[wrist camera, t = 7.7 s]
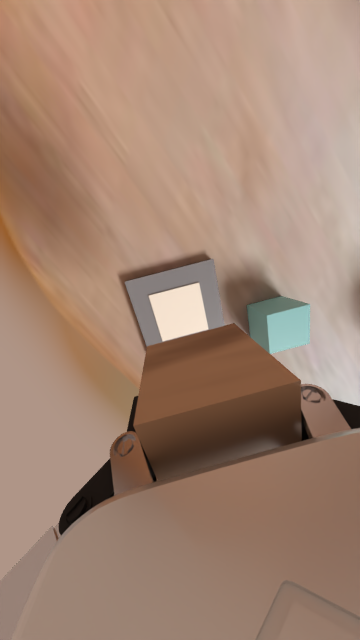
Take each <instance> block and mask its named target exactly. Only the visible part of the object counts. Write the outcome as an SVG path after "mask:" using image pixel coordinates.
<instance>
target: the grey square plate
mask: <svg viewBox="0 0 360 640" xmlns="http://www.w3.org/2000/svg"><path fill="white" fill-rule="evenodd" d="M125 285H126V288H127V291H128V294H129V297H130V299H131V302H132V305H133V308H134V311H135V314H136V317H137V320H138V323H139V326H140V328H141V331H142V334H143V337H144V340H145V343H146V346H150V345H154V344H157V343H161V342H165V341H169V340H173V339H176V338H180V337H184V336H188V335H192V334H195V333H199V332H203V331H207V330H210V329H214V328H218V327H222V326H225V325H224V319H223V313H222V307H221V301H220V295H219V289H218V283H217V277H216V271H215V265H214V260H213V259H209V260H205V261H202V262H198V263H194V264H190V265H186V266H182V267H178V268H175V269H171V270H167V271H163V272H159V273H155V274H151V275H147V276H144V277H140V278H136V279H132V280H128V281H125Z"/></svg>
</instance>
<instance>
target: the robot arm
mask: <svg viewBox="0 0 360 640" xmlns="http://www.w3.org/2000/svg"><path fill="white" fill-rule="evenodd" d="M137 401H138V396H136V397H134V400H133V405H132V410H131V415H130V419H129V424H128V429H127V432H125V433H123V434H121V435H120V436H119V437H117V439H116V440H115V441H114V442H113V444H112V446H111V449H110V459H109V460H108V461H107V462H106V463H105V464H104V465H103V467H102V468H101V469H100V470H99V471H98V472H97V473H96V474H95V475H94V476H93V477H92V478H91V479H90V480H89V481H88V482H87V483H86V484H85V485H84V487H83V488H82V489H81V490H80V491H79V492H78V493H77V494H76V495H75V496H74V497H73V498H72V499H71V501H70V502H69V503H68V504H67V506H66V507H65V509H64V511H63V513H62V515H61V518H60V521H59V523H58V524H57V525H56V527H55V528H54V527H53V526H51V528H50V529H49V530H48V531H47V532H46V533H45V534H44V535H43V536H42V537H41V538H40V539H39V540H38V542H37V543H36V544H35V545H34V546H33V547H32V548H31V549H30V550H29V551H28V552H27V553H26V554H25V555H24V556H23V557H22V558H21V559H20V561H19V562H18V563H17V564H16V565H15V566H14V567H13V568H12V569H11V570H10V571H9V572H8V573H7V574H6V575H5V577H4V578H3V579H2V580H1V581H0V640H360V406H357V405H353V404H349V403H345V402H341V401H337V400H333V399H332V398H331V397H330V395H329V394H328V393H327V392H326V391H325V390H324V389H322V388H321V387H318V386H316V385H312V384H301V436H302V441H300V442H296V443H293V444H289V445H285V446H282V447H278V448H274V449H270V450H267V451H263V452H259V453H256V454H252V455H249V456H245V457H241V458H238V459H234V460H230V461H227V462H223V463H220V464H216V465H212V466H209V467H205V468H202V469H198V470H195V471H191V472H188V473H184V474H181V475H177V476H174V477H170V478H167V479H163V480H160V481H158V480H157V478H156V475H155V473H154V471H153V469H152V466H151V464H150V462H149V460H148V458H147V455H146V453H145V451H144V449H143V446H142V444H141V442H140V440H139V438H138V435H137V433H136V431H135V429H134V426H133V424H134V419H135V413H136V407H137Z"/></svg>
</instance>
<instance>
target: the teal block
mask: <svg viewBox="0 0 360 640" xmlns="http://www.w3.org/2000/svg"><path fill="white" fill-rule="evenodd" d="M247 313H248V322H249V330H250V337H251V338H252V339H253V340H254V341H255V342H256V343H258V344H259V345H260V346H261V347H262V348H263V349H265V350H266V351H267V352H268V353H269V354H272V353H275V352H279V351H283V350H287V349H291V348H294V347H298V346H302V345H306V344H309V343H310V304H307V303H304V302H300V301H297V300H293V299H290V298H286V297H283V296H280V297H276V298H272V299H268V300H265V301H261V302H257V303H253V304H249V305H247Z"/></svg>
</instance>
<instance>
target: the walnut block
mask: <svg viewBox="0 0 360 640" xmlns="http://www.w3.org/2000/svg"><path fill="white" fill-rule="evenodd" d="M133 426H134V429H135V431H136V433H137V435H138V438H139V440H140V442H141V444H142V446H143V449H144V451H145V453H146V455H147V458H148V460H149V462H150V464H151V466H152V469H153V471H154V473H155V475H156V478H157V480H158V481H160V480H163V479H167V478H170V477H174V476H177V475H181V474H184V473H188V472H191V471H195V470H198V469H202V468H205V467H209V466H212V465H216V464H220V463H223V462H227V461H230V460H234V459H238V458H241V457H245V456H249V455H252V454H256V453H259V452H263V451H267V450H270V449H274V448H278V447H282V446H285V445H289V444H293V443H296V442H300V441H302V436H301V380H300V379H298V378H297V377H296V376H295V375H294V374H293V373H291V372H290V371H289V370H288V369H287V368H286V367H284V366H283V365H282V364H281V363H280V362H279V361H277V360H276V359H275V358H274V357H273V356H272V355H270V354H269V353H268V352H267V351H266V350H265V349H263V348H262V347H261V346H260V345H259V344H258V343H256V342H255V341H254V340H253V339H252V338H251V337H249V336H248V335H247V334H246V333H245V332H244V331H242V330H241V329H240V328H239V327H238V326H237V325H235V324H234V323H233V324H229V325H226V326H222V327H218V328H214V329H210V330H207V331H203V332H199V333H195V334H192V335H188V336H184V337H180V338H176V339H173V340H169V341H165V342H161V343H157V344H154V345H150V346H147V350H146V356H145V362H144V367H143V373H142V379H141V384H140V390H139V396H138V401H137V407H136V413H135V419H134V424H133Z"/></svg>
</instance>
